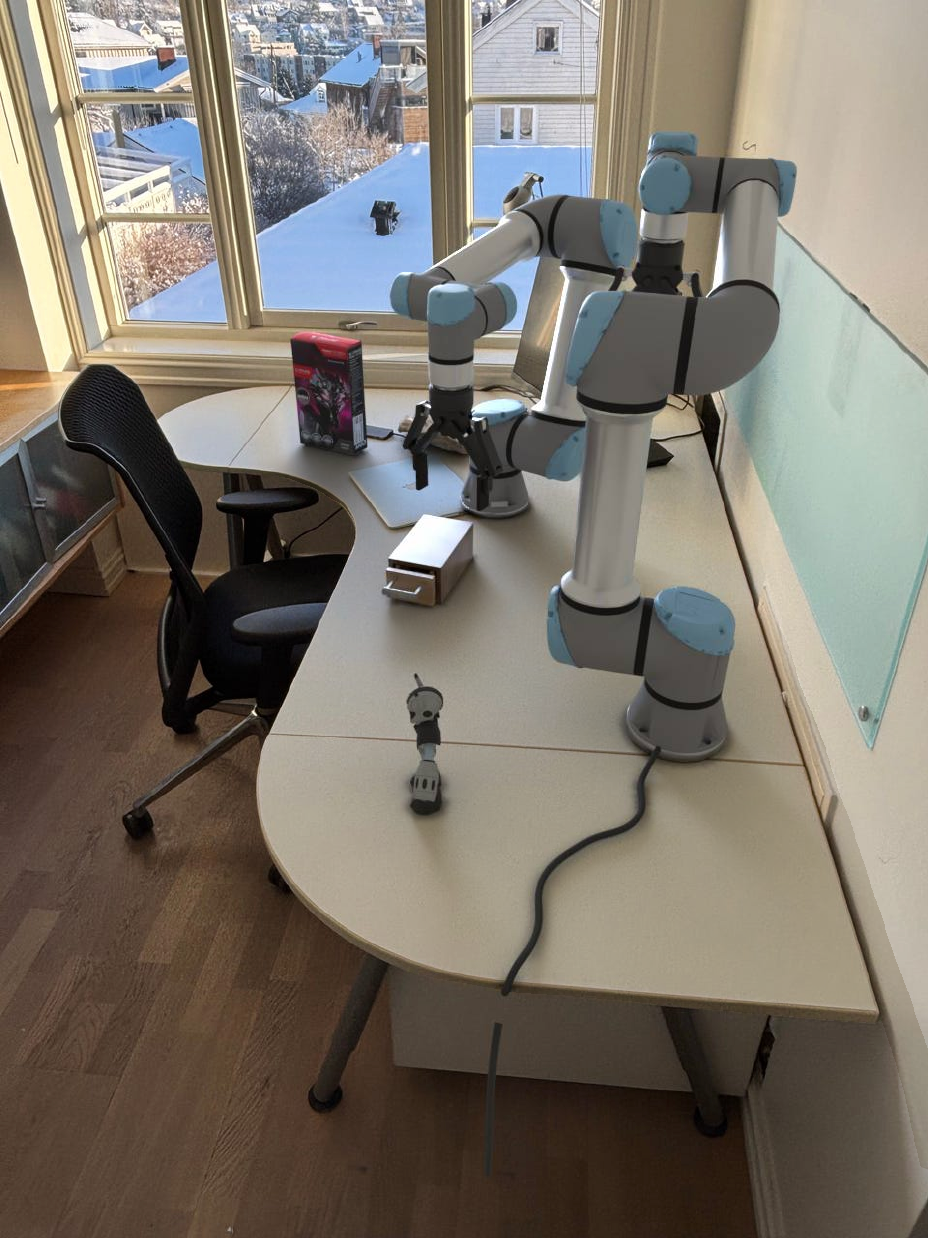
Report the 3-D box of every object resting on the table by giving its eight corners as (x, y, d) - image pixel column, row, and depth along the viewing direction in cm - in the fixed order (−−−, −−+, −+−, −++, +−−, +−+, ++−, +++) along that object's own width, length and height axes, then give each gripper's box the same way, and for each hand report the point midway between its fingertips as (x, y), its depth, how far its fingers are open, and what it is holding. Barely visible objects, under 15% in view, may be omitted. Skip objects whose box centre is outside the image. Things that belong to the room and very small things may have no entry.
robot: (446, 845, 123) (445, 731, 112) (409, 846, 123) (405, 732, 112) (441, 747, 139) (440, 638, 128) (409, 747, 139) (405, 639, 128)
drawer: (422, 621, 166) (422, 593, 163) (375, 611, 169) (374, 584, 165) (464, 561, 184) (464, 535, 181) (420, 553, 186) (420, 527, 183)
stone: (382, 437, 229) (387, 414, 227) (402, 429, 243) (406, 406, 240) (461, 462, 226) (467, 438, 223) (477, 452, 239) (482, 429, 237)
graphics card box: (297, 444, 233) (287, 336, 218) (313, 435, 239) (304, 329, 223) (354, 457, 227) (347, 347, 212) (369, 447, 232) (364, 339, 217)
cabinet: (441, 604, 173) (440, 567, 168) (389, 594, 175) (387, 558, 171) (472, 556, 187) (473, 522, 183) (424, 548, 190) (424, 514, 186)
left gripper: (526, 392, 150) (521, 509, 162) (407, 362, 162) (411, 472, 174) (500, 406, 145) (497, 525, 157) (379, 373, 157) (385, 486, 169)
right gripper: (741, 238, 151) (720, 365, 163) (590, 228, 157) (580, 352, 168) (739, 248, 145) (717, 379, 157) (582, 237, 150) (573, 365, 162)
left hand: (451, 497), depth 166 cm, fingers open, 13 cm apart
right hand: (646, 366), depth 163 cm, fingers open, 13 cm apart
